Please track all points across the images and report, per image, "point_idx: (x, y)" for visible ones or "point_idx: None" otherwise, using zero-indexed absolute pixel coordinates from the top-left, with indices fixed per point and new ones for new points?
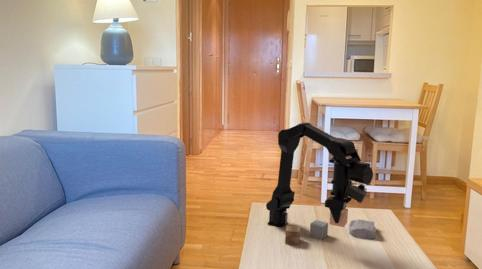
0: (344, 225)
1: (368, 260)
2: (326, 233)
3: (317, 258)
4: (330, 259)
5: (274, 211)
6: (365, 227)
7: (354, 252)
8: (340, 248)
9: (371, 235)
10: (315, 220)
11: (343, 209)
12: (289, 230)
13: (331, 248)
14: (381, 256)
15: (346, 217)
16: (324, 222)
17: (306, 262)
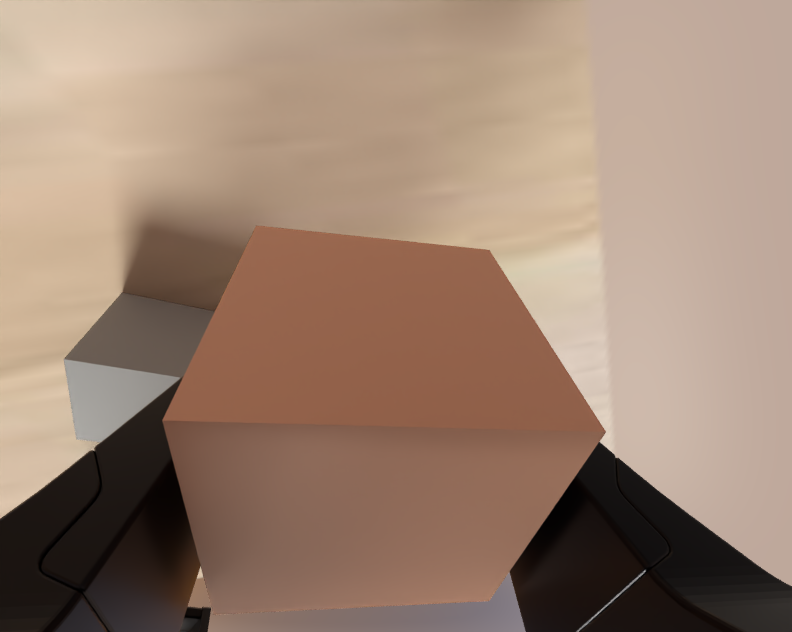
0: (468, 256)
1: None
2: (135, 307)
3: (526, 292)
4: (527, 219)
5: (208, 616)
6: None
7: (344, 29)
8: (317, 169)
9: None
10: (99, 440)
11: (304, 492)
12: None
13: (349, 234)
14: None
15: (348, 298)
16: (82, 384)
17: (583, 332)
